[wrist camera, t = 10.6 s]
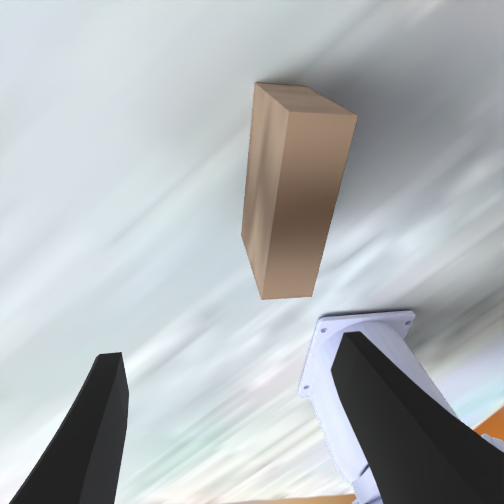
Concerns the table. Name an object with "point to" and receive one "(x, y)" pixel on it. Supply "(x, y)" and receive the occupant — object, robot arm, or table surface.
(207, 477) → the table surface
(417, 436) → the robot arm
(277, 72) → the table surface
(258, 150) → the bar
